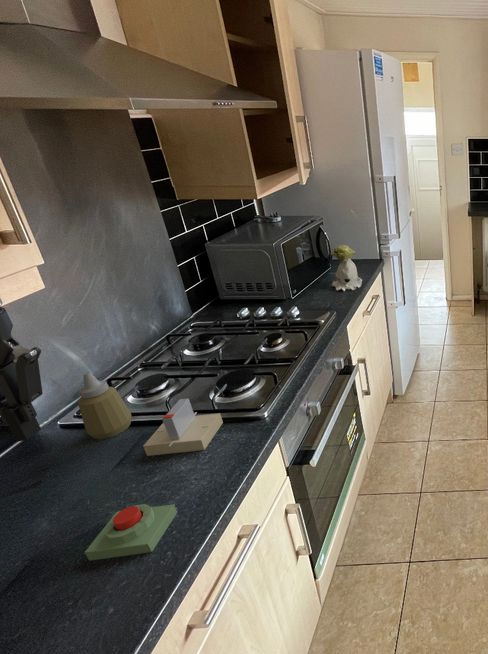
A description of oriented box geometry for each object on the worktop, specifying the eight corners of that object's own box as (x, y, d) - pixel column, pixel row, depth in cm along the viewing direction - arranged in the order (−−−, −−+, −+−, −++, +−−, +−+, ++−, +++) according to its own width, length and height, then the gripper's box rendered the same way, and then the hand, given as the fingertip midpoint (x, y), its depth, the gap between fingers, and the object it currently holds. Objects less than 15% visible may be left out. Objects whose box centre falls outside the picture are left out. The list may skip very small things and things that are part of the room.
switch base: (144, 459, 94) (139, 449, 93) (173, 424, 104) (169, 414, 103) (202, 453, 96) (198, 443, 94) (225, 419, 106) (222, 409, 105)
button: (111, 532, 74) (107, 525, 74) (125, 514, 78) (121, 507, 77) (133, 529, 75) (130, 522, 74) (146, 511, 78) (143, 504, 77)
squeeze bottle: (130, 418, 106) (105, 358, 99) (141, 431, 102) (115, 370, 95) (87, 437, 100) (57, 375, 93) (97, 452, 96) (66, 389, 89)
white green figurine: (357, 277, 192) (351, 239, 185) (366, 286, 182) (361, 246, 176) (330, 283, 185) (323, 244, 178) (339, 293, 176) (332, 252, 169)
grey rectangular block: (186, 418, 102) (179, 398, 99) (195, 417, 102) (188, 397, 100) (170, 440, 95) (161, 418, 93) (179, 438, 96) (171, 417, 93)
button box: (88, 560, 73) (80, 545, 72) (120, 519, 80) (113, 504, 79) (151, 552, 75) (144, 537, 73) (177, 512, 82) (171, 497, 80)
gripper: (-116, 328, 59) (-39, 455, 67) (-9, 324, 61) (53, 448, 69) (-57, 305, 66) (6, 422, 74) (38, 302, 67) (89, 417, 76)
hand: (29, 435), depth 72 cm, fingers closed
